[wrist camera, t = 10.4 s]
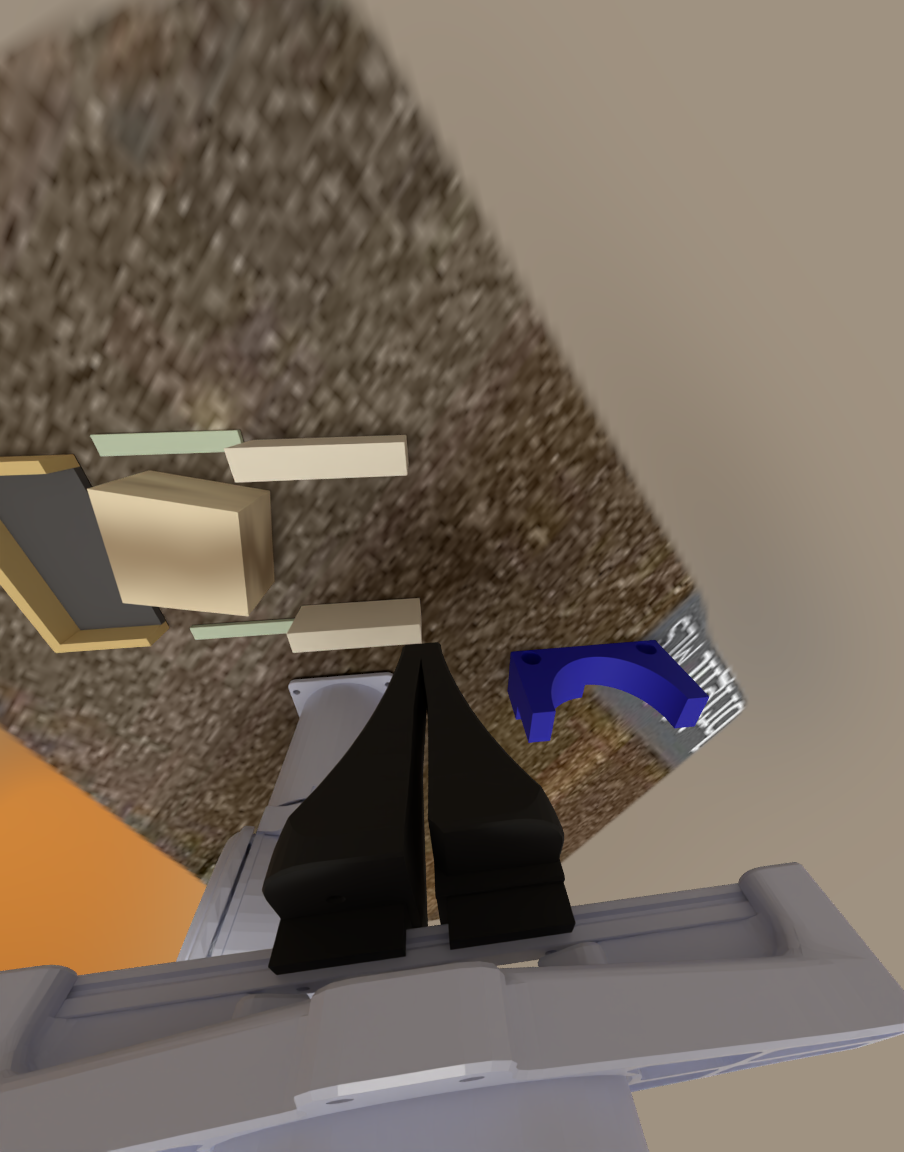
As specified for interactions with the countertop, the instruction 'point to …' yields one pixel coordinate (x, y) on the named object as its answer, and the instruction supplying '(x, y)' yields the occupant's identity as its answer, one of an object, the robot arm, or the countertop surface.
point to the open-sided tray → (64, 560)
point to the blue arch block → (600, 682)
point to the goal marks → (189, 444)
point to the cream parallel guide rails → (327, 461)
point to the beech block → (186, 541)
